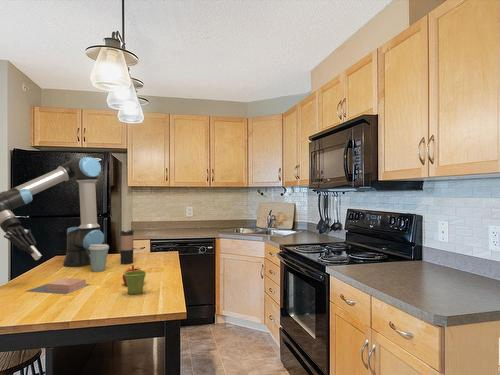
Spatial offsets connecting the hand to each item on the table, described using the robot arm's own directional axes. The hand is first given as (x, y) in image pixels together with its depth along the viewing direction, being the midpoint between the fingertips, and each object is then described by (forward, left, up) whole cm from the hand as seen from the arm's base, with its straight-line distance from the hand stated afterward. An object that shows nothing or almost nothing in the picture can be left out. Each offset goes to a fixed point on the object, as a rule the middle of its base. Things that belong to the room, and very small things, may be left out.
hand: (38, 257), depth 155 cm
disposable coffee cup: (-18, +31, -14) cm, 38 cm away
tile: (+8, +6, -11) cm, 15 cm away
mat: (+9, +7, -14) cm, 18 cm away
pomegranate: (+22, +37, -14) cm, 45 cm away
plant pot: (+36, +33, -14) cm, 51 cm away
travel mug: (-29, +50, -14) cm, 59 cm away
